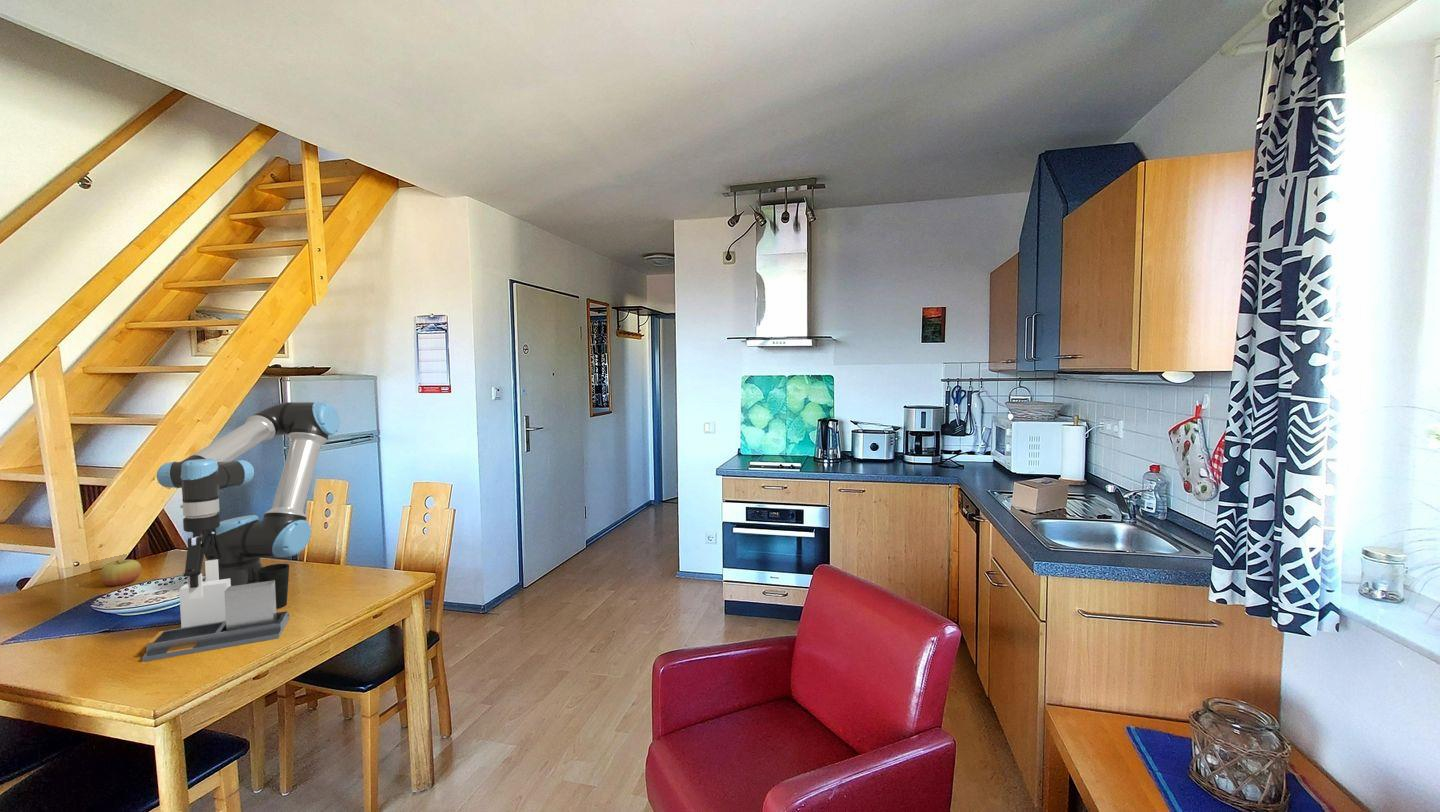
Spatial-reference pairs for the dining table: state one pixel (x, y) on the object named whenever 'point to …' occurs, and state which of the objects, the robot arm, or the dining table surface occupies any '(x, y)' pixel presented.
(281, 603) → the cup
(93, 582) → the dining table surface
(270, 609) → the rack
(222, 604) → the block
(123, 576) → the apple
